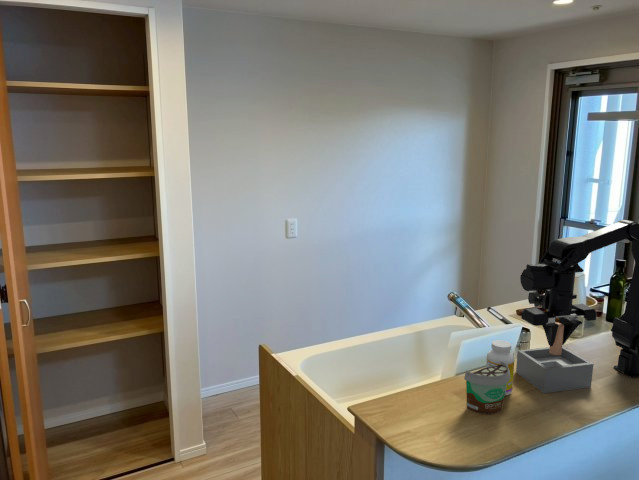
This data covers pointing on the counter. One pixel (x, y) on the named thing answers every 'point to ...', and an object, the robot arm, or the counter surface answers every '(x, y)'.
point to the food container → (487, 389)
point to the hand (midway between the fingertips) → (556, 345)
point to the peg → (557, 341)
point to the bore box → (554, 369)
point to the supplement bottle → (502, 359)
